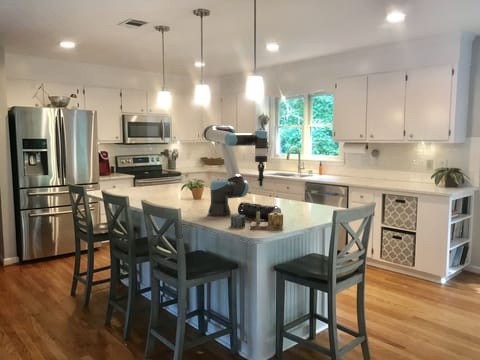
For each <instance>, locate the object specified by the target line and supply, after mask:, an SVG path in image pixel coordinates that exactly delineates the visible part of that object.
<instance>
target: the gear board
mask: <svg viewBox="0 0 480 360" xmlns="http://www.w3.org/2000/svg"><path fill="white" fill-rule="evenodd" d="M255 220H256V221H251V223H250V230H257V231H259V230H264V231H283V229H284V228H283V227H284V213H282V212H281V213H277V212H274V213H270V214H268V222H267V221H261V219H260V212H257V215H256V219H255Z"/></svg>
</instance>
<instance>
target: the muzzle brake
mask: <svg viewBox="0 0 480 360" xmlns="http://www.w3.org/2000/svg"><path fill="white" fill-rule="evenodd" d="M257 212H260V220H263V222H268V214H270V213H274V212H277V213H282V209H281V207H278V206H277V205H267V204H260V203H253V202H245V201H242V202H240V203H239V204H238V207H237V213H238V215H245V219H251V220H256V215H257Z"/></svg>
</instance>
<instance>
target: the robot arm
mask: <svg viewBox="0 0 480 360" xmlns="http://www.w3.org/2000/svg"><path fill="white" fill-rule="evenodd" d="M202 135H203V138H204V140H206V141H208V142H211V143H212V142H215V143H216V142H217V146H218V147H220V149H221V153H222V157H223V162H224V167H225V171H226V175H227V179H225V178H223V179H216V180H213V181H211V182H210V188H209V190H210V204H209V207H208V208H209V209H208V211H207V212H208V213H207V215H208V216H210V217H217V218H219V217H228V216H229V217H230V216H231V215H232V214H231V213H232V211H231V209H230V205H229V199H237V198H238V199H240V198H245V197H246V196H247V195H248V192H249V183H248V181H247V180H245V179H244V176H243V175H241V174H240V169H239V165H238V161H237V157H236V154H235V149H234V146H236V147H238V146H239V147H241V146H242V147H243V146H249V147H250V146H251V147H252V146H254V155H255V156H254V162H255V163H258V164H257V170H258V178H257V181H258V192H264V179H265V176H264V172H265V164H264V163H267V162H268V152H269V149H268V131H267V130H263V129H260V130H259V129H256V130H255V131H254V133H236V130H235V128H234V127H233V126H231V125H226V124H224V125H219V124H217V125H216V124H212V125H208V126H207V127H205V128H204V130H203V133H202Z"/></svg>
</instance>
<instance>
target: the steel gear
mask: <svg viewBox="0 0 480 360" xmlns="http://www.w3.org/2000/svg"><path fill="white" fill-rule="evenodd" d="M230 227H233V228H244V227H246V218H245V215H239V214H231V215H230Z"/></svg>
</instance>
